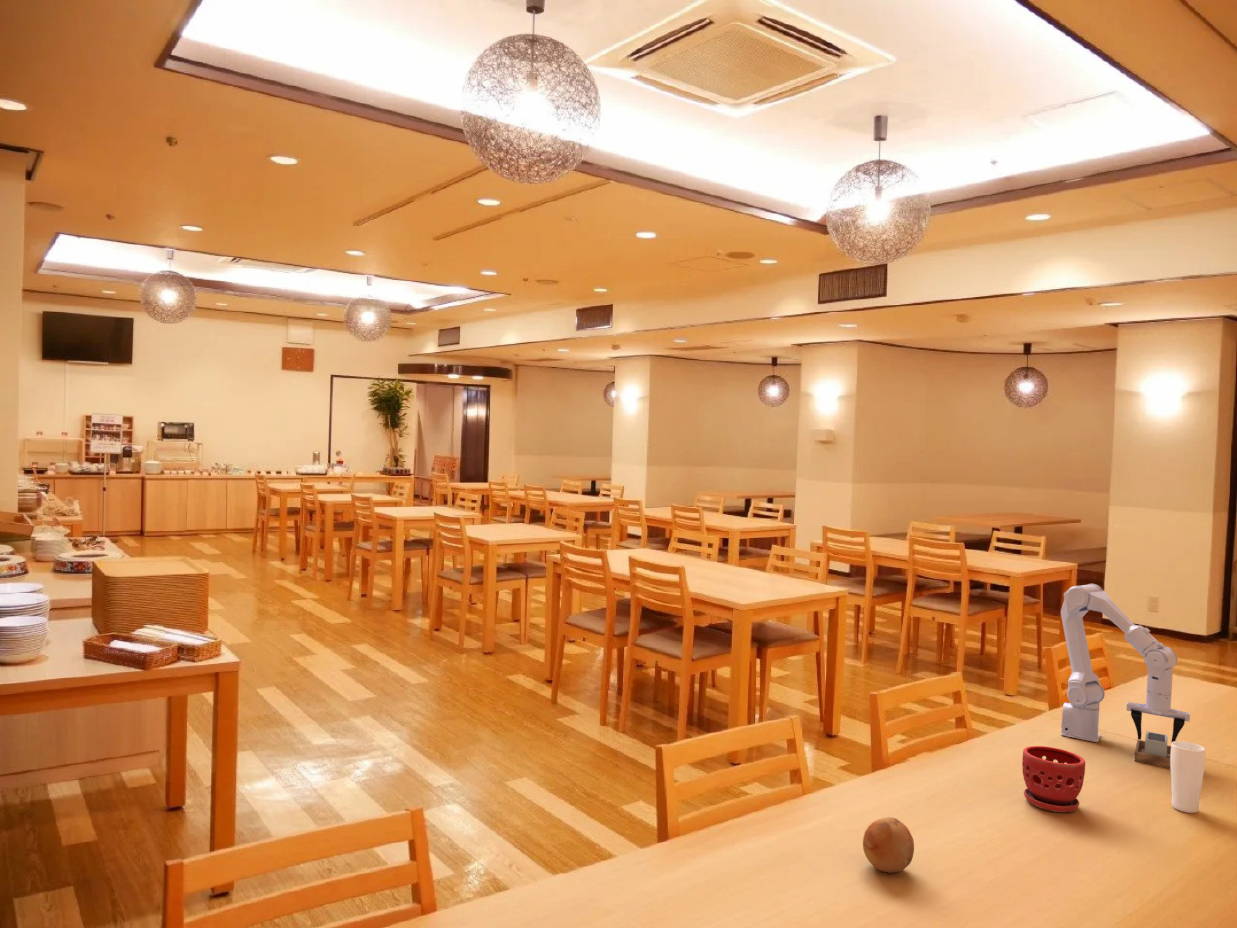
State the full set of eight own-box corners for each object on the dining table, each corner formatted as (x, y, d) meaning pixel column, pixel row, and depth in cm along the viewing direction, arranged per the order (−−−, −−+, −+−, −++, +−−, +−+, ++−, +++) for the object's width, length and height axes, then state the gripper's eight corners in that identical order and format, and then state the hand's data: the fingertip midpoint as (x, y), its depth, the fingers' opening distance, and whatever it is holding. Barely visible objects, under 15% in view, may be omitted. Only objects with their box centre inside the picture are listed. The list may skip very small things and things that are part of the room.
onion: (872, 851, 175) (874, 803, 175) (921, 868, 169) (923, 818, 168) (852, 869, 167) (854, 819, 167) (902, 887, 161) (905, 835, 161)
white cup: (1191, 803, 204) (1195, 741, 203) (1208, 816, 197) (1212, 752, 197) (1161, 801, 205) (1165, 739, 204) (1177, 814, 198) (1180, 750, 197)
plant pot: (1091, 819, 194) (1093, 767, 193) (1028, 812, 196) (1031, 760, 196) (1072, 796, 206) (1075, 746, 206) (1014, 789, 209) (1016, 741, 209)
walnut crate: (1134, 761, 231) (1134, 751, 231) (1137, 748, 241) (1137, 739, 241) (1175, 769, 226) (1175, 760, 226) (1176, 755, 236) (1176, 746, 236)
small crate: (1144, 759, 231) (1145, 739, 231) (1145, 750, 238) (1146, 730, 238) (1166, 763, 228) (1167, 743, 228) (1166, 754, 235) (1167, 734, 235)
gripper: (1127, 690, 233) (1124, 739, 234) (1190, 701, 225) (1187, 752, 226) (1128, 684, 239) (1125, 732, 240) (1191, 694, 231) (1188, 744, 232)
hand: (1156, 741), depth 233 cm, fingers open, 7 cm apart
